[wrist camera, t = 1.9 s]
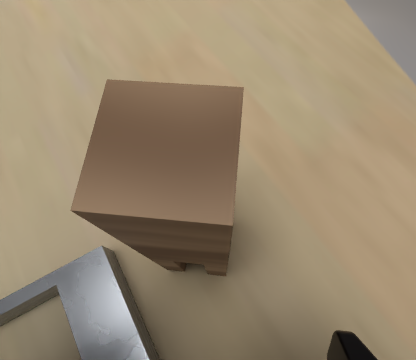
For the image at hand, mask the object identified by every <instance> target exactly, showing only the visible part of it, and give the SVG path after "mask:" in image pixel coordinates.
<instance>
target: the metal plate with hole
mask: <svg viewBox="0 0 416 360" xmlns="http://www.w3.org/2000/svg"><path fill="white" fill-rule="evenodd" d="M58 294H59V295H60V298H61V300H62V303H63V306H64V309H65V312H66V315H67V318H68V321H69V324H70V327H71V330H72V333H73V336H74V339H75V341H76V344H77V347H78V350H79V353H80V356H81V359H82V360H160V359H159V357H158V355H157V352H156V350H155V348H154V345H153V343H152V341H151V338H150V336H149V334H148V331H147V329H146V327H145V324H144V322H143V320H142V317H141V315H140V313H139V310H138V308H137V306H136V303H135V301H134V299H133V296H132V294H131V291H130V289H129V287H128V284H127V282H126V280H125V277H124V275H123V273H122V270H121V268H120V266H119V263H118V261H117V259H116V256H115V254H114V252H113V251H112V250H110V249H108V248H106V247H104V246H100V247H98V248H96V249H95V250H93V251H91V252H89V253H87V254H85V255H83V256H82V257H80V258H78V259H76V260H74V261H72V262H70V263H68V264H67V265H65V266H63V267H61V268H59V269H57V270H55V271H53V272H52V273H50V274H48V275H46V276H44V277H42V278H40V279H38V280H37V281H35V282H33V283H31V284H29V285H27V286H25V287H24V288H22V289H20V290H18V291H16V292H14V293H12V294H10V295H9V296H7V297H5V298H3V299H1V300H0V326H2V325H3V324H5V323H7V322H9V321H11V320H12V319H14V318H16V317H18V316H20V315H22V314H23V313H25V312H27V311H29V310H31V309H33V308H34V307H36V306H38V305H40V304H42V303H44V302H45V301H47V300H49V299H51V298H53V297H55V296H56V295H58Z"/></svg>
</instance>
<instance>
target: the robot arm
mask: <svg viewBox="0 0 416 360" xmlns="http://www.w3.org/2000/svg"><path fill="white" fill-rule="evenodd" d="M327 360H378V359H377V358H376V357H375V356H374V355H373V354H372V353H371V352H370V350H369V349H368V348H367V347H366V346H365V345H364V344H363V343H362V341H361V340H360V339H359V338H358V337H357V336H356V335H355V334H354V333H352V332H349V331H340V330H336V331H335V332H334V333H333V336H332V339H331V343H330V346H329V350H328V353H327Z"/></svg>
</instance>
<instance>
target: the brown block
mask: <svg viewBox="0 0 416 360" xmlns="http://www.w3.org/2000/svg"><path fill="white" fill-rule="evenodd" d="M243 90H244V87H228V86H210V85H193V84H176V83H159V82H142V81H124V80H107V81H106V85H105V89H104V92H103V96H102V99H101V103H100V106H99V110H98V114H97V117H96V121H95V124H94V128H93V132H92V135H91V139H90V142H89V146H88V149H87V153H86V157H85V160H84V164H83V167H82V171H81V175H80V178H79V182H78V185H77V189H76V193H75V196H74V200H73V203H72V207H71V211H72V212H74V213H75V214H77V215H79V216H80V217H82V218H84V219H85V220H87V221H89V222H90V223H92V224H93V225H95V226H97V227H98V228H100V229H102V230H103V231H105V232H106V233H108V234H110V235H111V236H113V237H115V238H116V239H118V240H120V241H121V242H123V243H124V244H126V245H128V246H129V247H131V248H133V249H134V250H136V251H137V252H139V253H141V254H142V255H144V256H146V257H147V258H149V259H150V260H152V261H154V262H155V263H157V264H159V265H160V266H162V267H164V268H165V269H167V270H174V271H183V272H185V269H186V263H194V264H203V265H204V267H205V269H206V271H207V273H208V274H211V275H220V276H226V273H227V266H228V258H229V251H230V244H231V236H232V229H233V219H234V206H235V193H236V180H237V167H238V154H239V141H240V128H241V115H242V102H243Z"/></svg>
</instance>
